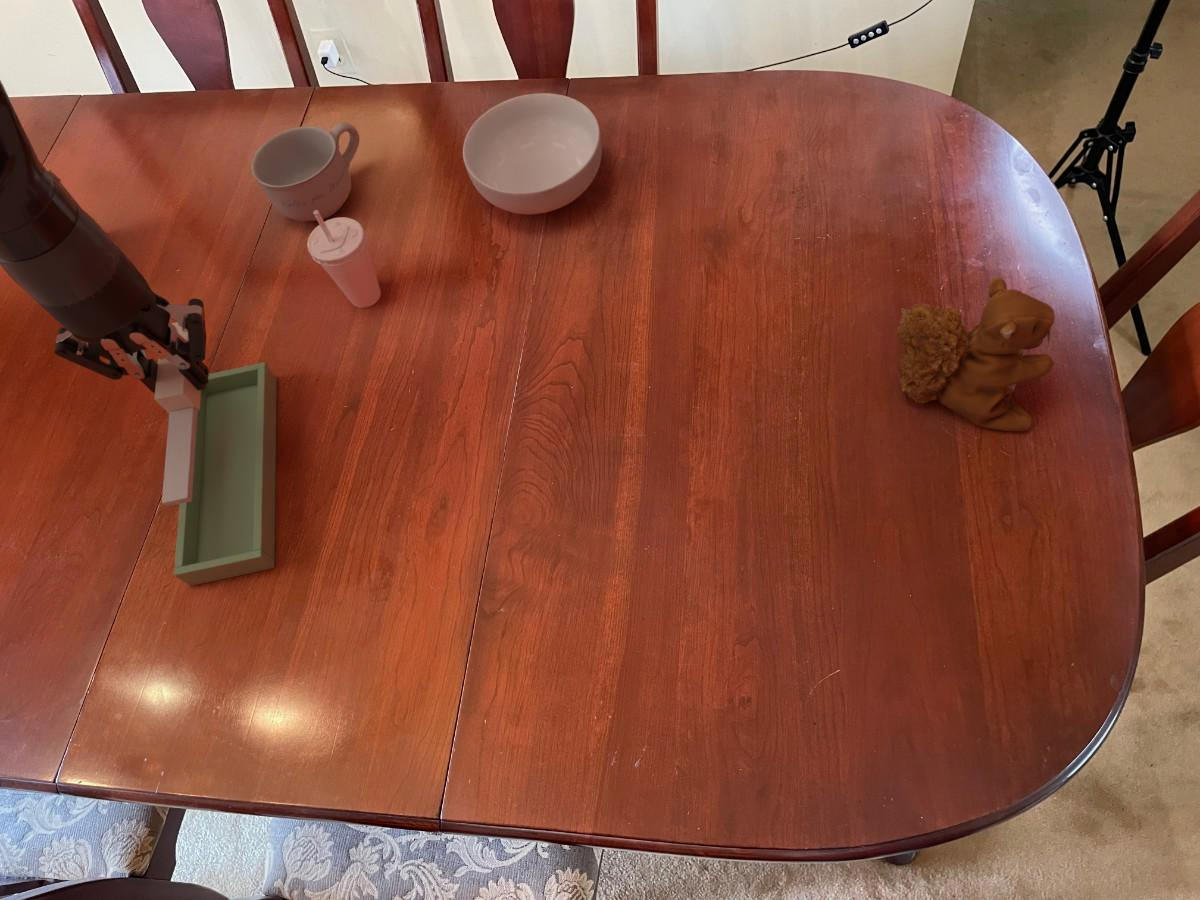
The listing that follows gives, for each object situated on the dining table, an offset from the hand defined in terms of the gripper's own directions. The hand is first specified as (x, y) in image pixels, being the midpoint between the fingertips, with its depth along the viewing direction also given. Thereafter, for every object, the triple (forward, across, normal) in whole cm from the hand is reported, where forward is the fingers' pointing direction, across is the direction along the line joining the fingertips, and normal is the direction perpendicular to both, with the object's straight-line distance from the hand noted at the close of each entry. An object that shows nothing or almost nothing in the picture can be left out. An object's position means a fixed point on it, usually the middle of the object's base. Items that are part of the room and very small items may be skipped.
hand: (185, 385), depth 83 cm
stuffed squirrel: (+11, -75, +12) cm, 77 cm away
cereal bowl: (+11, -38, -29) cm, 49 cm away
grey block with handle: (0, 0, +4) cm, 4 cm away
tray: (+11, 0, +4) cm, 11 cm away
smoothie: (+11, -15, -17) cm, 25 cm away
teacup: (+11, -11, -35) cm, 38 cm away
